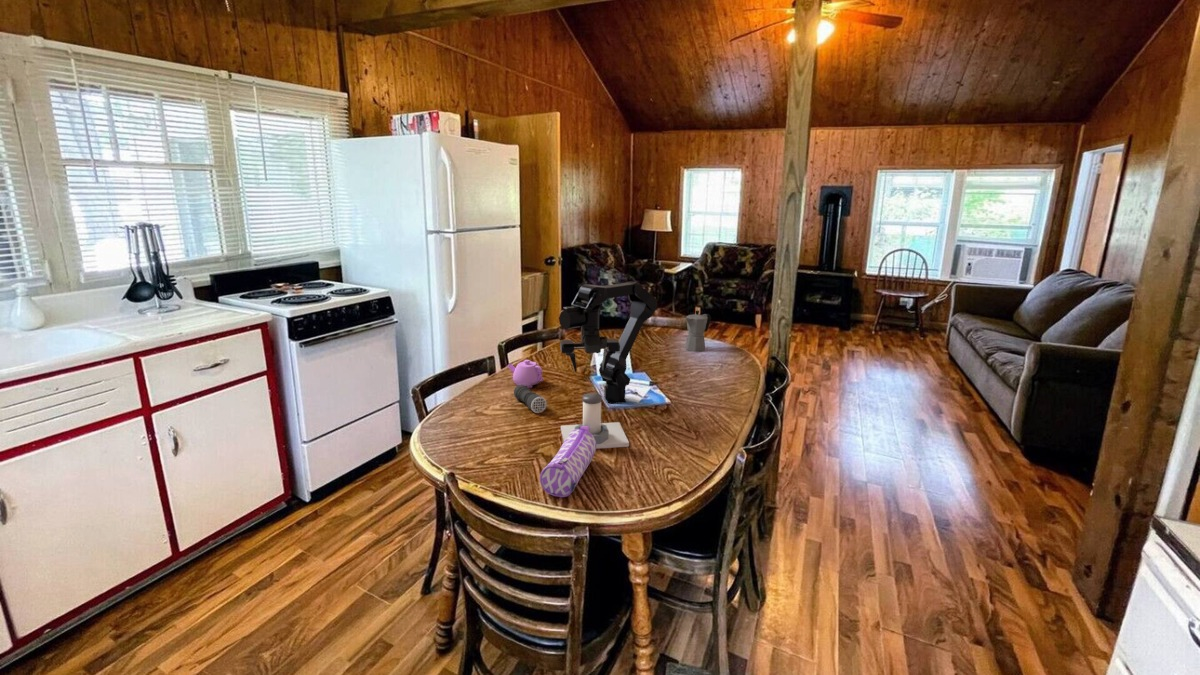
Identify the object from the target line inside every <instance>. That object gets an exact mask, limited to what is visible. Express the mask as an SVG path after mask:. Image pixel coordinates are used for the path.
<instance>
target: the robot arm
mask: <svg viewBox="0 0 1200 675" xmlns="http://www.w3.org/2000/svg"><path fill="white" fill-rule="evenodd" d="M626 296H627V297H628V300H629V301H630V302H631V305H630V307H629V308H630V317H629V318H628V321H627V323H626V325H625V327H624V329H623V332H622V333H621V335H620V338H619V340H617V338H608V337H607V336H601V335H600V311H602V310H603V311H604V310H605V307H604V305H603V303H605V302H606V301H607V300H609V299H615V298H620V297H626ZM657 309H658V300H657V298H656V297H655V296H653V295H652V294H651V293H650V292H649V291H647V290H646V289H645V288H644V287H643V286H642V284H640V283H639V282H637V281H636V282H635V281H627V282H621V283H615V284H613V283H612V284H608V285H595V284H589V283H588V284H587V283H585V284H581V286H580V287H579V289H578V292H577V293H576V295H575V297H574V299H573V301H572V302H571V305H570V306H563V308H562V311H561V312H560V314H559V316H558V323H559V325H560V327H561V328H562V329H563V330H571V329H576V328H580V342H574V341H573V339H561V340H560V341H559V348H560V353H561V354H565V356H568V357H569V358H570V360H571V364H572V366H573V370H574V373H577V360H576V352H575V350H584V352H585V354H600V353H601V352H602V351H601V350H602V349H603V354H602V355H603V356H602V361H601V363H600V364H599V369H598V372H599V376H600V377H601V379H602V381H603V382H605V385H604V387H603V388H604V389H603V397H604V399H605V400H606V402H607V404H619V403H618V402H624V403H627V399H626V387H627V386H628V385H630V383H631V378H630V377H629V376H628V375H627V374H626V371H627V359H628V355H629V354H630V352H631V350H632V347H633V346H634V343H635V341H636V340H637V337H638V336H639V333H640V331H641V329H642V327H643V325H644V323H645V322H646V321H648V320H649V319H650V318H651V317H653V314H655V312H656V311H657ZM616 402H617V403H616Z"/></svg>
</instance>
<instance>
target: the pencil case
mask: <svg viewBox="0 0 1200 675" xmlns="http://www.w3.org/2000/svg"><path fill="white" fill-rule="evenodd" d="M589 429H590V427H587V426H581V428H580V429H575V430H573V431H572V432H571V433H570V434H569V436H568V438H567V439H566V440H565V442H564V441H563V443H562V445H561V446H560V448H559V450H558V452H557V453H556V454H555V456H554V457H553V458H552V459H551V461H550V462H549V463H548V464H547V465H546V466H545V467H543V469H542V470H541V472H540V477H539V483H540V486H541V487H542V489H543V490H544V492H545V493H547V494H548V495H550V496H553V497H559V498H566V497H569V496H570V495H571V494H572V492H574V491H575V489H576V486H577V485H578V483H579V481H580V479H581V477H582V476H583V475H584V474H585V472H586V470H587V468H588V466H589V465H590V463H591V462H592V459H593V458H594V455H595V454H596V451H597V449H596V441H595V438H594V437H593V435H592V434H591V433H589V432H588V431H589Z"/></svg>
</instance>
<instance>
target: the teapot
mask: <svg viewBox="0 0 1200 675" xmlns="http://www.w3.org/2000/svg"><path fill="white" fill-rule="evenodd" d="M507 367H508V368H509V369H510V371H511V372H512V373H513V374H512V380H513V382H514V384H516V387H517V386H518V385H525V386H526V387H528V388H529V389H532V388H533V386H534V385H539V383H540V382H543V381H544V378H543V368H542V367H541V366H540V365H539V364H538V363H537V362H536V361H531V360H530V359H524V360H523V361H521V362H519V363H517V365H516V367H515V366H514V365H513V363H511V362H510V363H508V364H507Z"/></svg>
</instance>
